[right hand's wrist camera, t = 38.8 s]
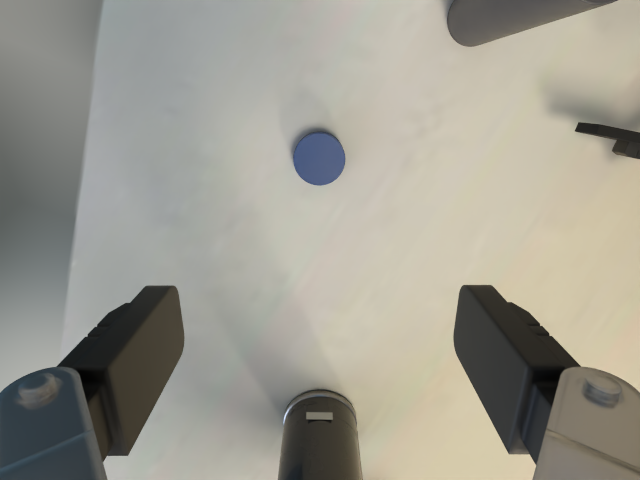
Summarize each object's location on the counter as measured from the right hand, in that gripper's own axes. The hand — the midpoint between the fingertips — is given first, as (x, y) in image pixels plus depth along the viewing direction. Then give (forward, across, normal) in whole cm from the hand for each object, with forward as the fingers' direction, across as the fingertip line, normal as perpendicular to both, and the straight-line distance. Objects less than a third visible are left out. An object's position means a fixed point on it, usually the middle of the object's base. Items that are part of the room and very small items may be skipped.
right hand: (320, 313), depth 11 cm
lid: (+29, 0, 0) cm, 29 cm away
